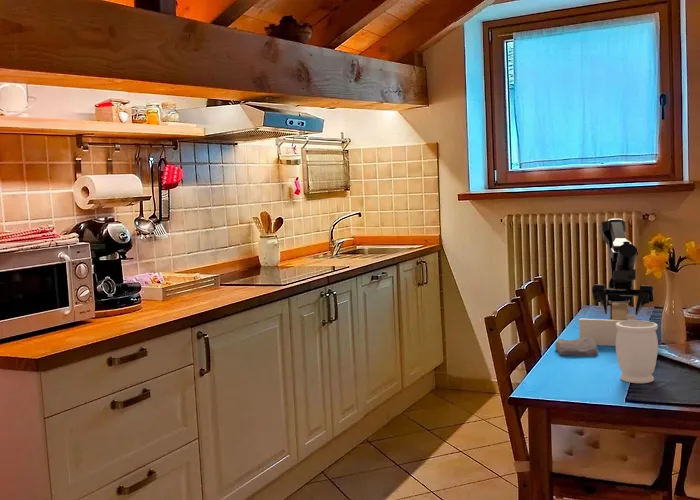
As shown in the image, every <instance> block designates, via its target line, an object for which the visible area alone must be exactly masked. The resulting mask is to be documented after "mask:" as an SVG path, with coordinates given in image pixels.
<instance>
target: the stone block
mask: <svg viewBox="0 0 700 500" xmlns="http://www.w3.org/2000/svg"><path fill="white" fill-rule="evenodd" d="M555 351H557V353H559V355H560V356H561V355H562V356H578V357H592V356H593V357H594V356H599V349H598V345H596V343H595V341H594V339H592V338H590V337H583V338H579V337H577V338H575V339H564V338H558V340H556V342H555Z"/></svg>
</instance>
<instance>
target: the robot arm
mask: <svg viewBox="0 0 700 500" xmlns="http://www.w3.org/2000/svg"><path fill="white" fill-rule="evenodd" d="M626 227H627V225H626V221H624V219H622V218H609V219H607V220H605V221H602V222H601V223H600V227H599V228H600V234H601V235H602V240H603V242H604V243H605V244H606V245H607V248H608V260H609V271H610V279H609V281H608V284H607V286H606V284H601V283H600V284H599V283H598V284H594V285H592V288H591V291H592V298H593V300H594V301H596V302H598V303H600V304H601V305H602V307H603V310H604V314H605V315H607V314H608V306H609V319H608V320H612V304H613V303H628V306H632V305H633V304H634V303H633V302H634V301H633V300H634V297H637V300H636V301H637V302H636V305H635V313H634V314H636V316H637V315H638V314H639V313H640V311H641V310H642V309H643V307H644V306H646V304H650V303H652V302H654V301H655V299H654V298H655V294H654V293H655V292H654V287H653V286H652V285H649V284H648V285H644V284H641V285H639V289H633V285H634V281H636V280H637V270H636V269H635V264H636V259H637V256H639V251H638V248H637V247H636V245H634V244H632V242H631V241H630V240H628V239H627V236H626V232H627V228H626ZM606 287H607V288H606Z"/></svg>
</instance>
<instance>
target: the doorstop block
mask: <svg viewBox="0 0 700 500" xmlns="http://www.w3.org/2000/svg"><path fill="white" fill-rule="evenodd" d="M627 314H629V305H628V303H613V304H612V320H626V321H627Z"/></svg>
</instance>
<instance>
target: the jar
mask: <svg viewBox="0 0 700 500" xmlns="http://www.w3.org/2000/svg"><path fill="white" fill-rule="evenodd" d="M658 327H659V326H658V324H657V323H656V322H653V321H648V320H638V319H636V320H627V321H620V322H617V323H616V328H617V329H618V331H617V335H616V346H615V352H616V357H617V364H618V366H619V370H620V371H621V374H620V376H619V378H620V380H622V381H623V382H626V383H632V384H648V383H651V382H654V380H655V377H654V376H653V373H654V371H655V368H656V365H657V357H658V353H659V342H658V341H659V340H658V335H657V332H656V331H657V330H658Z"/></svg>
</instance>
